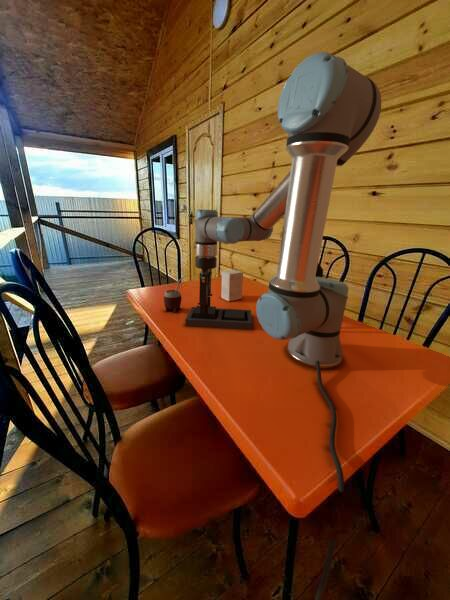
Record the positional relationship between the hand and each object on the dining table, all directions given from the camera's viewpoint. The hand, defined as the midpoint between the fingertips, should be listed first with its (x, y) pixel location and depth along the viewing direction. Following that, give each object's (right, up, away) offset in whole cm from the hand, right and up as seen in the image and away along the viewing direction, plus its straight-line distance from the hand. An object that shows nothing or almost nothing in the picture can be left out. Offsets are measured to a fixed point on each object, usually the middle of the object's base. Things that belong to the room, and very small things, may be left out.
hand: (205, 316), depth 96 cm
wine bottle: (+40, -1, +7) cm, 41 cm away
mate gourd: (-13, +2, +9) cm, 16 cm away
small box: (+11, +7, +25) cm, 28 cm away
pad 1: (0, 0, 0) cm, 0 cm away
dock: (+6, -2, 0) cm, 6 cm away
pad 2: (+11, -2, 0) cm, 11 cm away
